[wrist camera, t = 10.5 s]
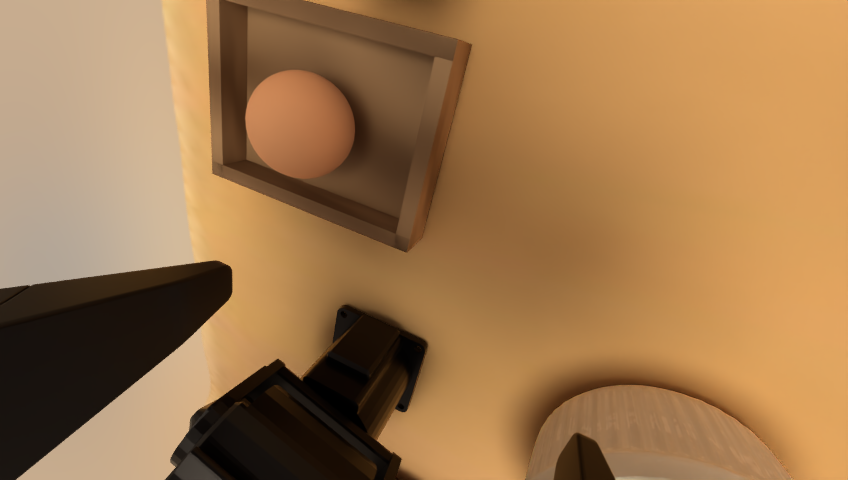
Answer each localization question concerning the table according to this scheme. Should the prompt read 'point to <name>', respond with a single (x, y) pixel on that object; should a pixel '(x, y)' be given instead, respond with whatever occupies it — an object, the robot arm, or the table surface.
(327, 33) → the tray
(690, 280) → the table surface
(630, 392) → the ramekin
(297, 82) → the ball
